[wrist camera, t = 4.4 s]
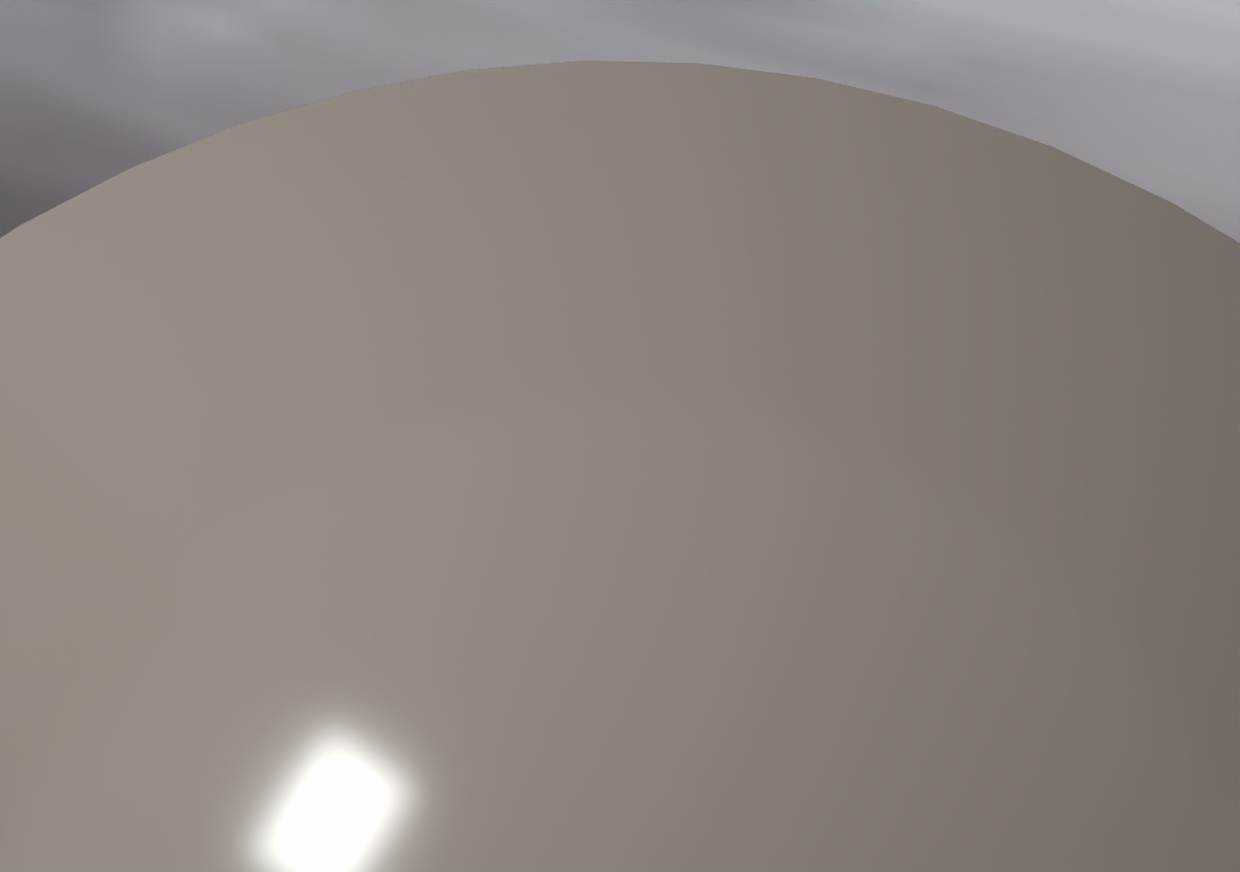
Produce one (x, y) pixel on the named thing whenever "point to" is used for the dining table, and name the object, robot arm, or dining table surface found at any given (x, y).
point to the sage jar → (619, 494)
